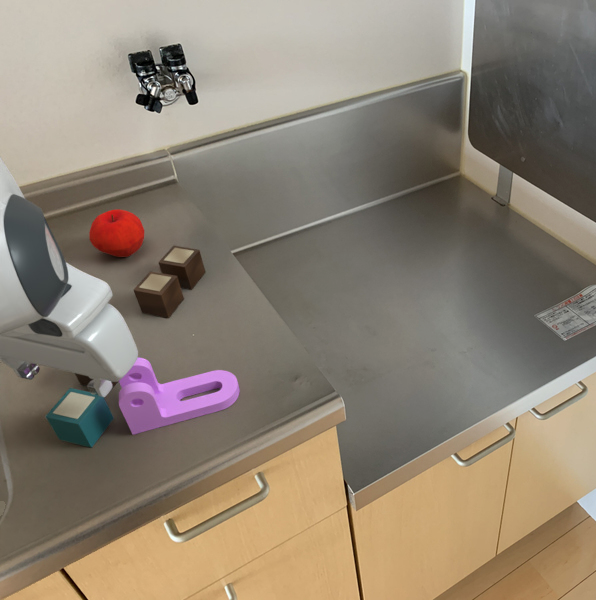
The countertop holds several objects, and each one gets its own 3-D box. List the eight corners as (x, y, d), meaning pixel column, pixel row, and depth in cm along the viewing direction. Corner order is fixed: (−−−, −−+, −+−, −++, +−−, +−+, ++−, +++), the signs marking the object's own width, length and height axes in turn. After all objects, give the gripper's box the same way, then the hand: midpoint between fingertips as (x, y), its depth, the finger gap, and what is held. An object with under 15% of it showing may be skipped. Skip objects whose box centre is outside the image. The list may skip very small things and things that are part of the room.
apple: (94, 270, 96) (78, 231, 91) (102, 241, 101) (87, 203, 97) (147, 264, 97) (134, 225, 92) (152, 235, 103) (140, 198, 98)
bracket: (132, 434, 72) (114, 396, 68) (130, 400, 76) (113, 362, 72) (243, 404, 76) (232, 366, 71) (235, 372, 80) (225, 334, 75)
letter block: (91, 447, 71) (78, 423, 68) (59, 439, 72) (44, 415, 69) (114, 418, 74) (102, 394, 71) (82, 411, 75) (69, 386, 72)
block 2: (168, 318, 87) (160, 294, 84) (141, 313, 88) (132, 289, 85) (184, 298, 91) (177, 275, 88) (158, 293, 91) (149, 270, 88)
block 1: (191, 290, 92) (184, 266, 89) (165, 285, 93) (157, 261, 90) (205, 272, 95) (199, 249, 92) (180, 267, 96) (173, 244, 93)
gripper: (-102, 292, 58) (-33, 385, 68) (82, 331, 55) (129, 424, 64) (-50, 252, 63) (8, 345, 72) (124, 286, 59) (161, 379, 68)
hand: (66, 382), depth 68 cm, fingers open, 8 cm apart
